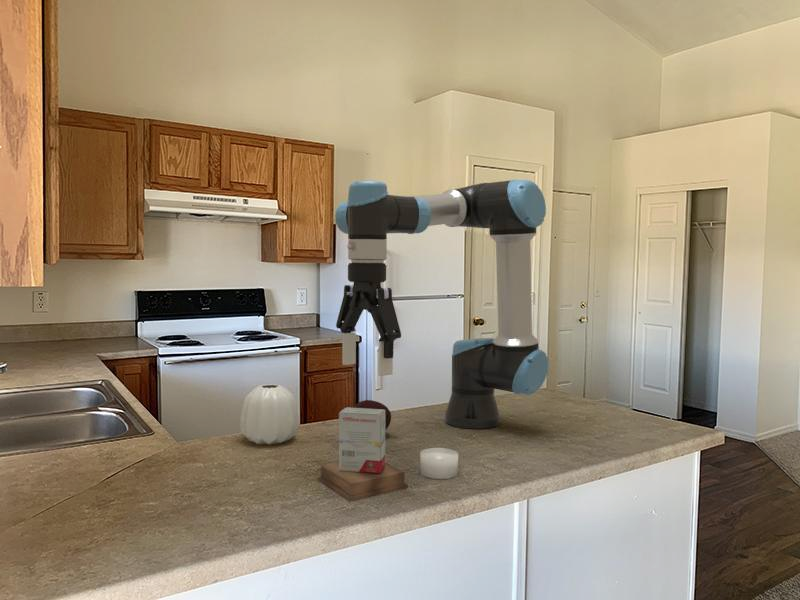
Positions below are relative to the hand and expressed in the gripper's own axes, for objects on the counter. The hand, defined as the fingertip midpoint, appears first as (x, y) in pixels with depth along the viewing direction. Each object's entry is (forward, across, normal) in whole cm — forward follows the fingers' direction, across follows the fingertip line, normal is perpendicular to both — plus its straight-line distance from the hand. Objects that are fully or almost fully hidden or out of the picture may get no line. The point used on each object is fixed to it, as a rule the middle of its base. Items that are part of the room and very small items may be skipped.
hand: (366, 369), depth 122 cm
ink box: (+20, +1, -1) cm, 20 cm away
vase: (+23, -36, -5) cm, 43 cm away
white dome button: (+23, +4, +16) cm, 28 cm away
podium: (+23, +1, -1) cm, 23 cm away
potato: (+23, -26, +17) cm, 39 cm away
